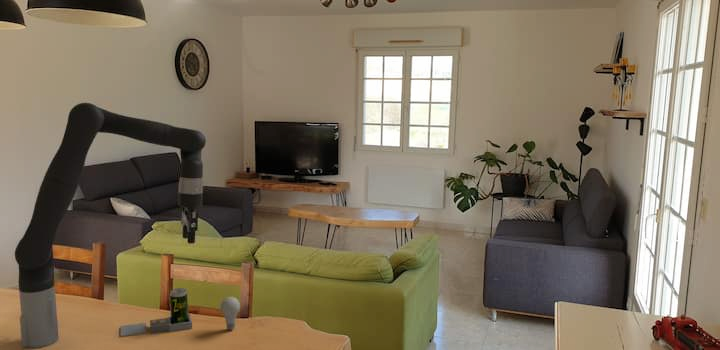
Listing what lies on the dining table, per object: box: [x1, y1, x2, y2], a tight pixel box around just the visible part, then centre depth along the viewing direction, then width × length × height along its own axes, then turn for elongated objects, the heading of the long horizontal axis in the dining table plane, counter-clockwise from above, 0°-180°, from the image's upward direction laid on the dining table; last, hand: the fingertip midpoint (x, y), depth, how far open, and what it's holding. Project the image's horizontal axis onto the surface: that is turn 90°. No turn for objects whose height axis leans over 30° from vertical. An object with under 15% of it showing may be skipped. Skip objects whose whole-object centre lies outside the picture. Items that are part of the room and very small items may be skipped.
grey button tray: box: [149, 313, 193, 334], centre depth 179 cm, size 12×7×3 cm, turn 113°
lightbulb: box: [220, 296, 241, 331], centre depth 177 cm, size 6×6×11 cm
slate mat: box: [120, 322, 148, 338], centre depth 177 cm, size 8×8×1 cm
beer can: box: [169, 287, 189, 324], centre depth 179 cm, size 5×5×12 cm
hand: (188, 240), depth 180 cm, fingers open, 8 cm apart
